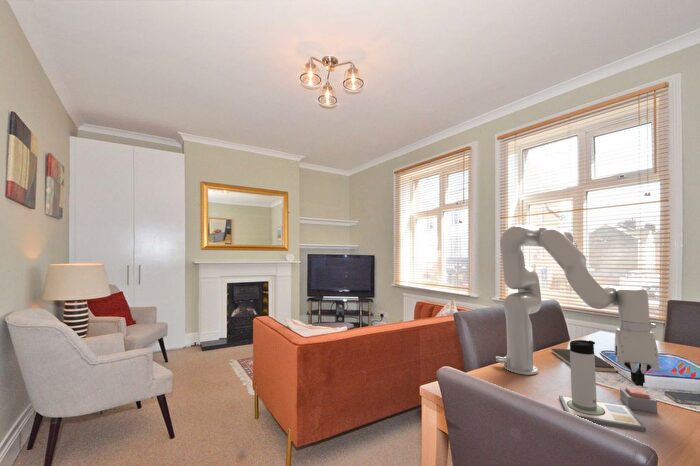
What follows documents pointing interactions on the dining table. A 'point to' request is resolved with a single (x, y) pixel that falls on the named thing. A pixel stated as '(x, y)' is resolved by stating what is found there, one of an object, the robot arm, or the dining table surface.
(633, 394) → the button
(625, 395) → the button housing
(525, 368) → the robot arm
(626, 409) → the picture board
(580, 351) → the travel mug
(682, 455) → the dining table surface
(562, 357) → the hardcover book
